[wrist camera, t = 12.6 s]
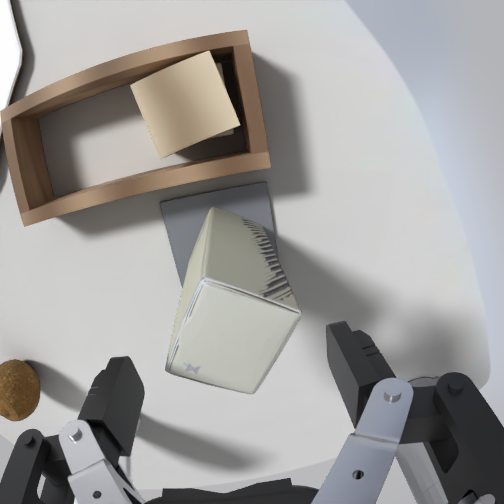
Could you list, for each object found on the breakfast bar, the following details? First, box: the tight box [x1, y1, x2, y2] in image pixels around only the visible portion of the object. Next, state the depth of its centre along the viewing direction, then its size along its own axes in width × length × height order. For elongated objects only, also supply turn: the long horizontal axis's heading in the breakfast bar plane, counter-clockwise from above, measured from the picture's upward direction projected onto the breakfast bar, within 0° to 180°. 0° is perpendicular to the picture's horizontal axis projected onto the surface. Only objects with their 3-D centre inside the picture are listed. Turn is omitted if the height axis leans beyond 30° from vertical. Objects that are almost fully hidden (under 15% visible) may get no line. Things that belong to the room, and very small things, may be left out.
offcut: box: [130, 51, 240, 159], centre depth 17 cm, size 5×5×2 cm
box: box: [165, 207, 302, 394], centre depth 18 cm, size 5×4×13 cm
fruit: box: [0, 359, 41, 421], centre depth 24 cm, size 6×6×8 cm
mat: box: [160, 182, 278, 289], centre depth 24 cm, size 8×8×1 cm
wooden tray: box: [0, 30, 271, 227], centre depth 19 cm, size 18×9×4 cm, turn 99°
